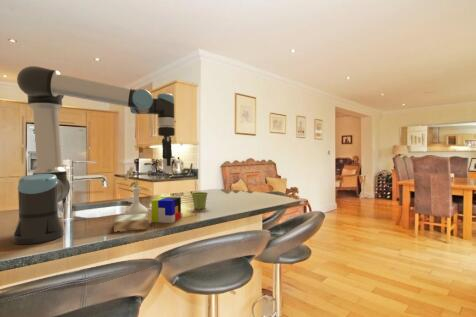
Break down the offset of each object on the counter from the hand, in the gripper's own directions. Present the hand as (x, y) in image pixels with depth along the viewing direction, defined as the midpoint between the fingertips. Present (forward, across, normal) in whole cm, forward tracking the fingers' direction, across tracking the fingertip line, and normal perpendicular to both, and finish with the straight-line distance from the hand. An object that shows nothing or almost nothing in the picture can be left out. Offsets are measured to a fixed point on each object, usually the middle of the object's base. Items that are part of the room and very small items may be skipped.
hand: (167, 172), depth 129 cm
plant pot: (+22, +21, -20) cm, 36 cm away
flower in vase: (+22, +15, +14) cm, 31 cm away
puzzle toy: (+22, 0, 0) cm, 23 cm away
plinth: (+22, -7, +16) cm, 28 cm away
